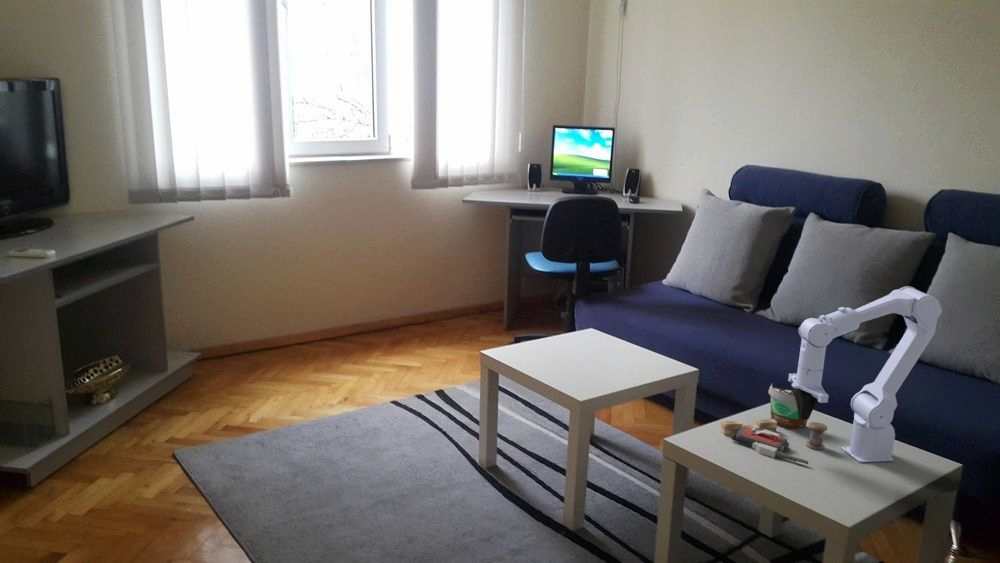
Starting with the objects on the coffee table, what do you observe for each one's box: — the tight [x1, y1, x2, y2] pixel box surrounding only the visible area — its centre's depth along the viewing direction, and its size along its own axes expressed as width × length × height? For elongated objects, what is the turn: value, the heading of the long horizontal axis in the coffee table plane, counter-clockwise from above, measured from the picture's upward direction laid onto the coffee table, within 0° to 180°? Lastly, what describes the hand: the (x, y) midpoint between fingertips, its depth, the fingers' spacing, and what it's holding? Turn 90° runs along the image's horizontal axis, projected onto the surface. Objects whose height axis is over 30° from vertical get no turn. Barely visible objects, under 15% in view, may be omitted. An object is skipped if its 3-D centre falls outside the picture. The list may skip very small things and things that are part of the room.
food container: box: [768, 383, 808, 430], centre depth 210 cm, size 12×6×10 cm, turn 55°
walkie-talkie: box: [731, 427, 809, 465], centre depth 196 cm, size 9×4×20 cm
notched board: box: [719, 418, 778, 436], centre depth 206 cm, size 15×2×3 cm, turn 100°
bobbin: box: [805, 421, 828, 451], centre depth 198 cm, size 4×4×6 cm
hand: (803, 418), depth 192 cm, fingers closed
